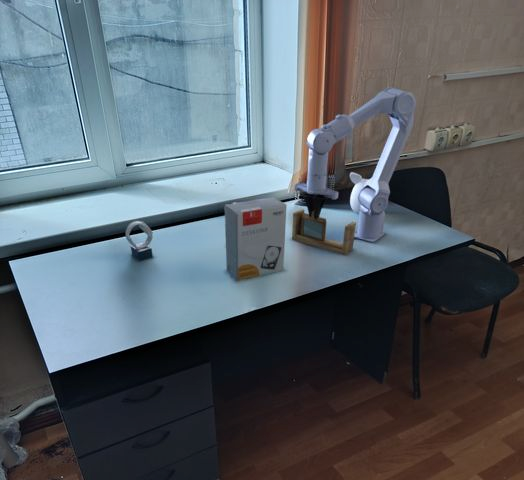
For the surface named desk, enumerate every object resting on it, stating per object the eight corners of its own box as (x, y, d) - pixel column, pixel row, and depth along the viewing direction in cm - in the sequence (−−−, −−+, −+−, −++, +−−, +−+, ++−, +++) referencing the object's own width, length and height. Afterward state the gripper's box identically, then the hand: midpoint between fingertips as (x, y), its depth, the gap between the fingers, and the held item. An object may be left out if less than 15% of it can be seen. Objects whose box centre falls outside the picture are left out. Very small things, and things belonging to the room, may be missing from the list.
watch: (158, 255, 150) (154, 221, 143) (134, 262, 146) (128, 228, 139) (150, 249, 153) (145, 216, 147) (126, 256, 149) (120, 222, 143)
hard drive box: (236, 282, 136) (234, 213, 124) (225, 271, 141) (222, 204, 130) (284, 270, 142) (287, 204, 130) (272, 260, 147) (273, 195, 136)
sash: (302, 234, 160) (304, 207, 154) (325, 241, 155) (327, 213, 150) (300, 236, 158) (301, 208, 153) (322, 243, 154) (325, 214, 149)
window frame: (300, 234, 163) (301, 208, 158) (352, 249, 154) (356, 222, 149) (291, 239, 160) (293, 213, 155) (345, 255, 151) (348, 227, 145)
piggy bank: (375, 207, 184) (380, 167, 176) (382, 219, 175) (389, 177, 166) (343, 208, 184) (347, 167, 175) (349, 219, 174) (353, 177, 166)
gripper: (289, 172, 145) (288, 215, 153) (331, 181, 138) (327, 226, 147) (302, 166, 150) (300, 209, 158) (343, 175, 143) (339, 219, 151)
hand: (314, 217), depth 153 cm, fingers closed on sash
